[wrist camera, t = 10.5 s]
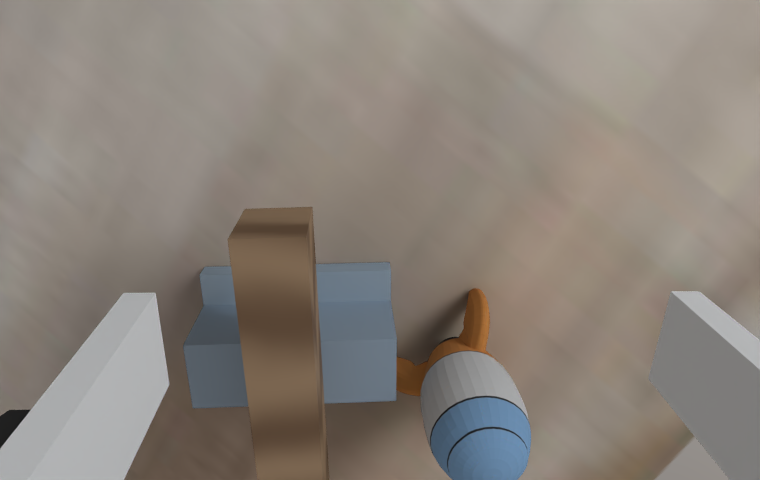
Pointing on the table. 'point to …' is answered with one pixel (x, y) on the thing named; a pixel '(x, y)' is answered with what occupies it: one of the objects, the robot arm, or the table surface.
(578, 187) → the table surface
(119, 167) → the table surface
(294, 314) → the walnut bar
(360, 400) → the slate ridge
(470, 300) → the toy rocket
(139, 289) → the table surface
